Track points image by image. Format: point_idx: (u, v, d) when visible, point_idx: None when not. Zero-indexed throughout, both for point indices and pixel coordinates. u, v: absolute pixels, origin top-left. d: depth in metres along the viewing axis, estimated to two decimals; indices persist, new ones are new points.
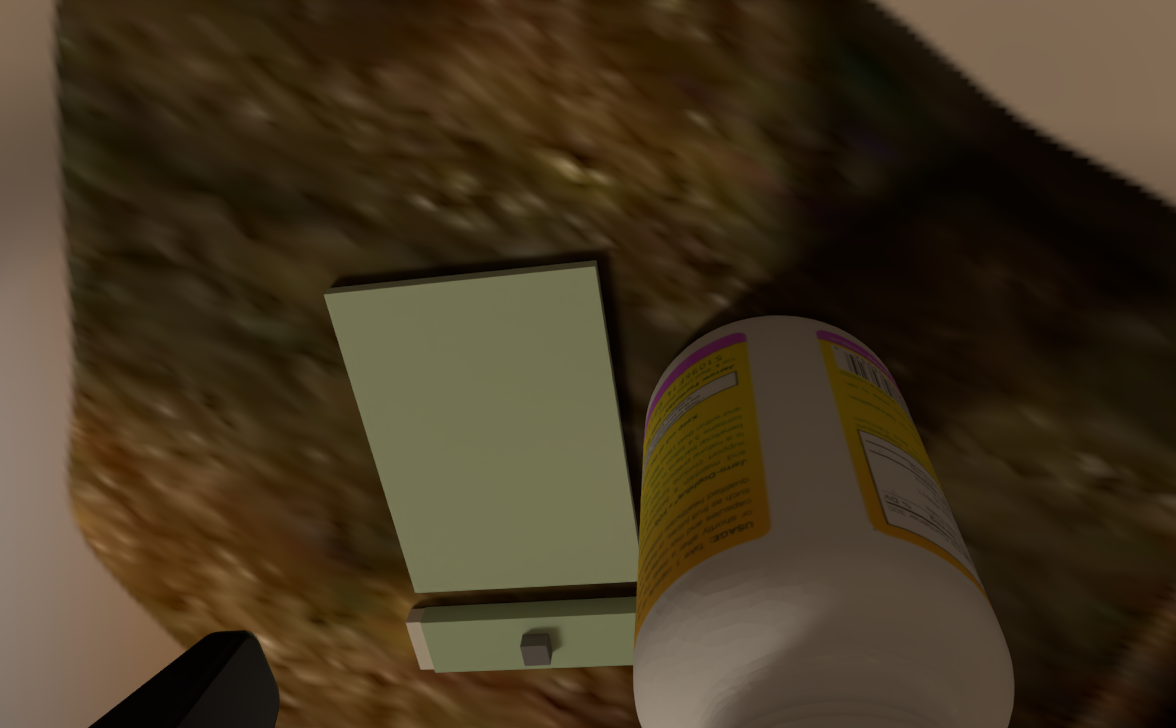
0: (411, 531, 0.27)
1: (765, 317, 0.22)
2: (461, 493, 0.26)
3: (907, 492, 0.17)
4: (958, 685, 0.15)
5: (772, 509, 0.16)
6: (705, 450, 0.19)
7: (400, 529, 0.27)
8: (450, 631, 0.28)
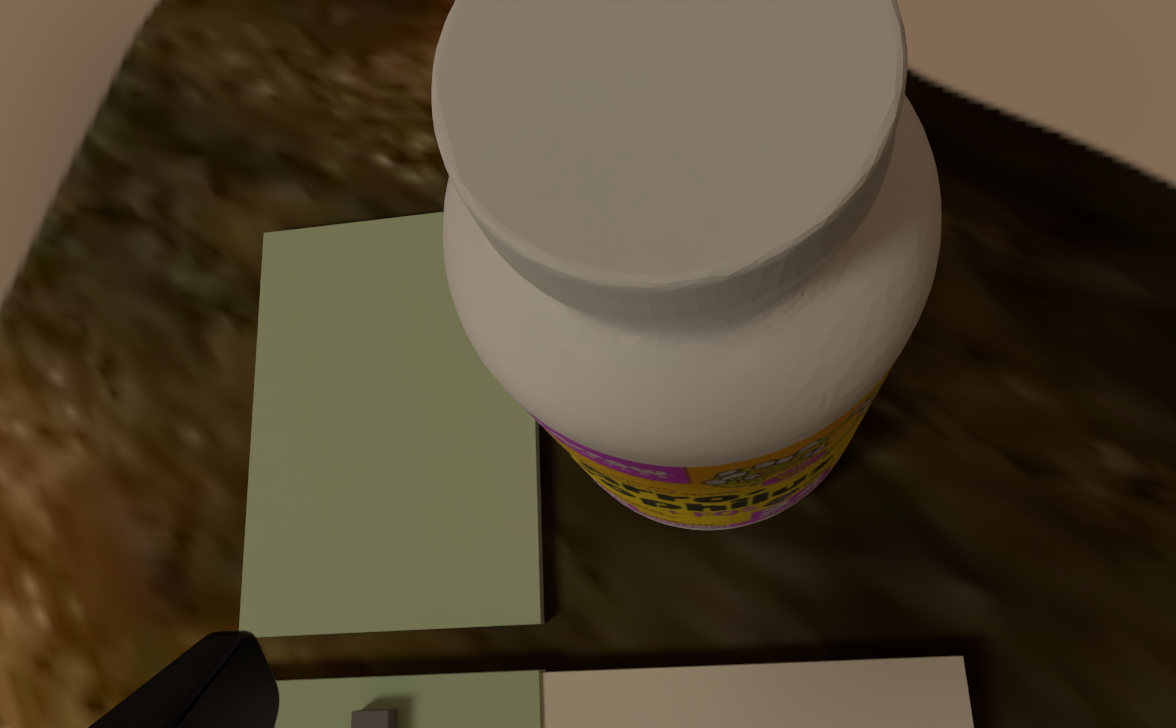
0: (263, 533, 0.21)
1: None
2: (337, 474, 0.22)
3: None
4: None
5: None
6: None
7: (250, 528, 0.22)
8: None
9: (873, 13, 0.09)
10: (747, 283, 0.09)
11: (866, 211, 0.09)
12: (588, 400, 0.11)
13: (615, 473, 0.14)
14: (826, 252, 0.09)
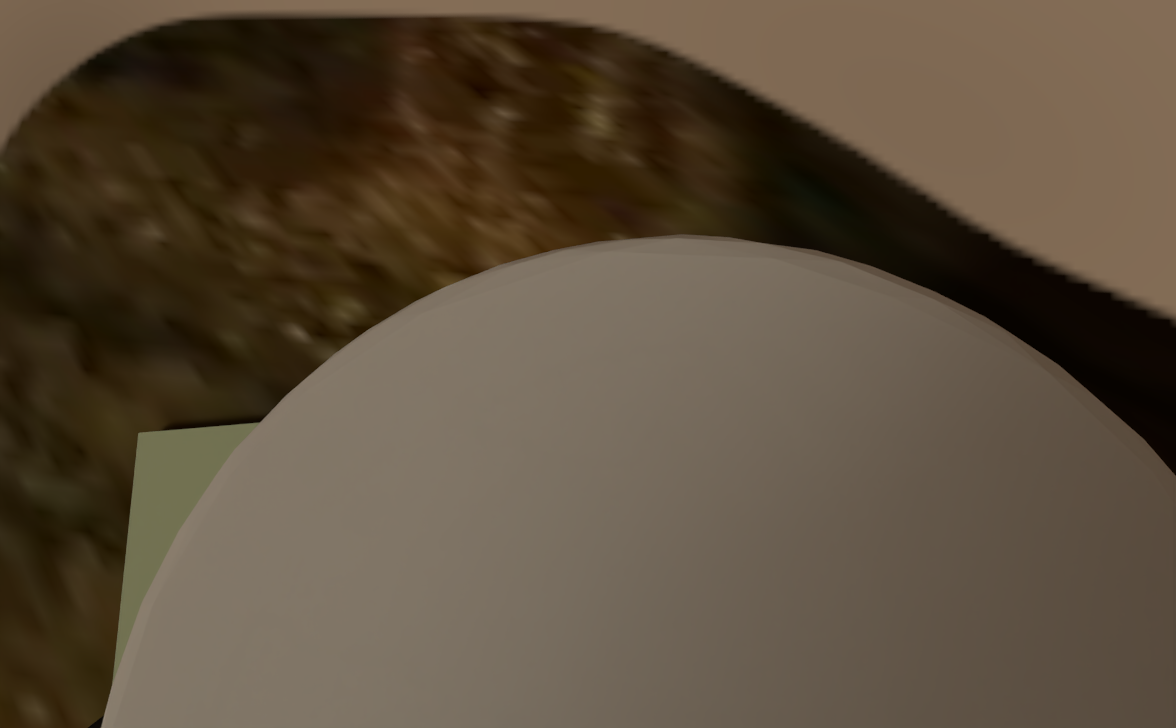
0: None
1: None
2: None
3: None
4: None
5: None
6: None
7: None
8: None
9: None
10: None
11: None
12: None
13: None
14: None
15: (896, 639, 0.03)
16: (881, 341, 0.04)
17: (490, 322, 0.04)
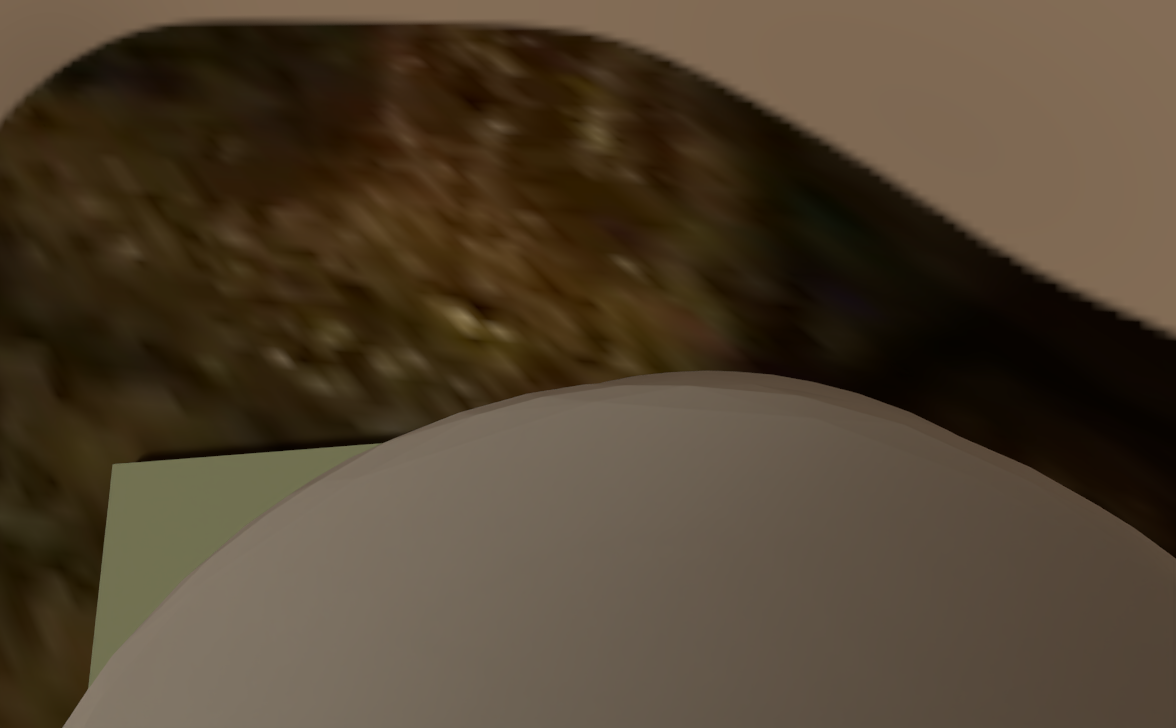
0: None
1: None
2: None
3: None
4: None
5: None
6: None
7: None
8: None
9: None
10: None
11: None
12: None
13: None
14: None
15: None
16: (960, 534, 0.03)
17: (445, 496, 0.03)
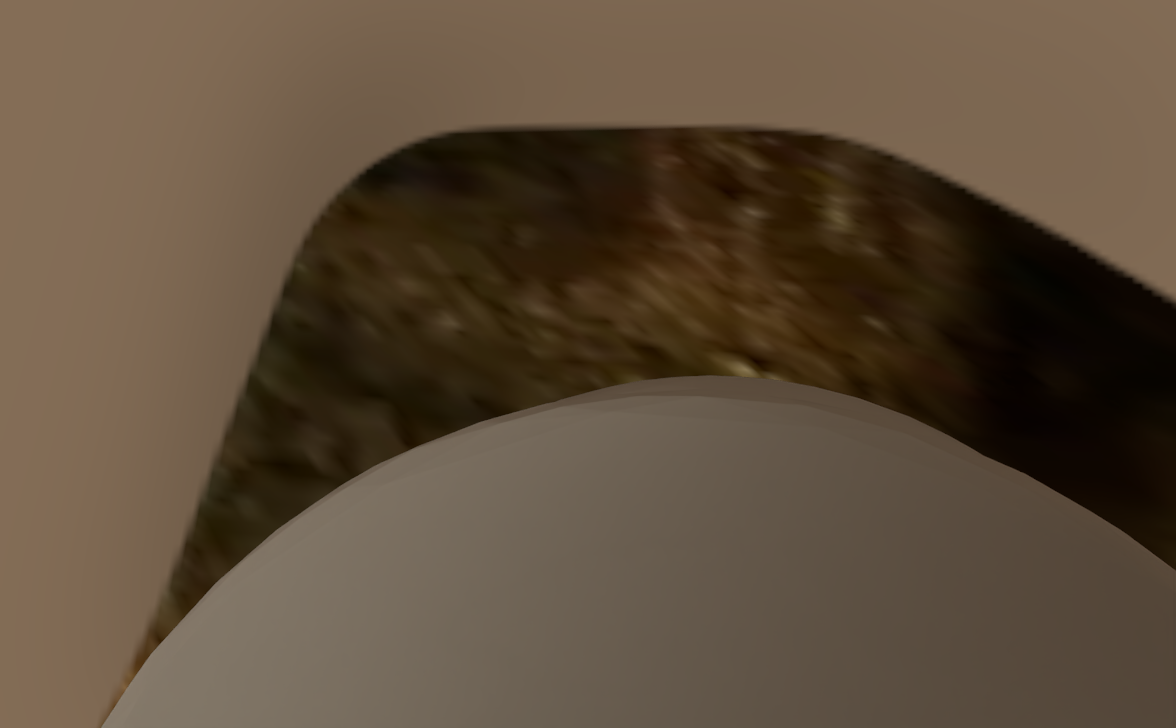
0: None
1: None
2: None
3: None
4: None
5: None
6: None
7: None
8: None
9: None
10: None
11: None
12: None
13: None
14: None
15: None
16: (961, 541, 0.03)
17: (467, 501, 0.03)
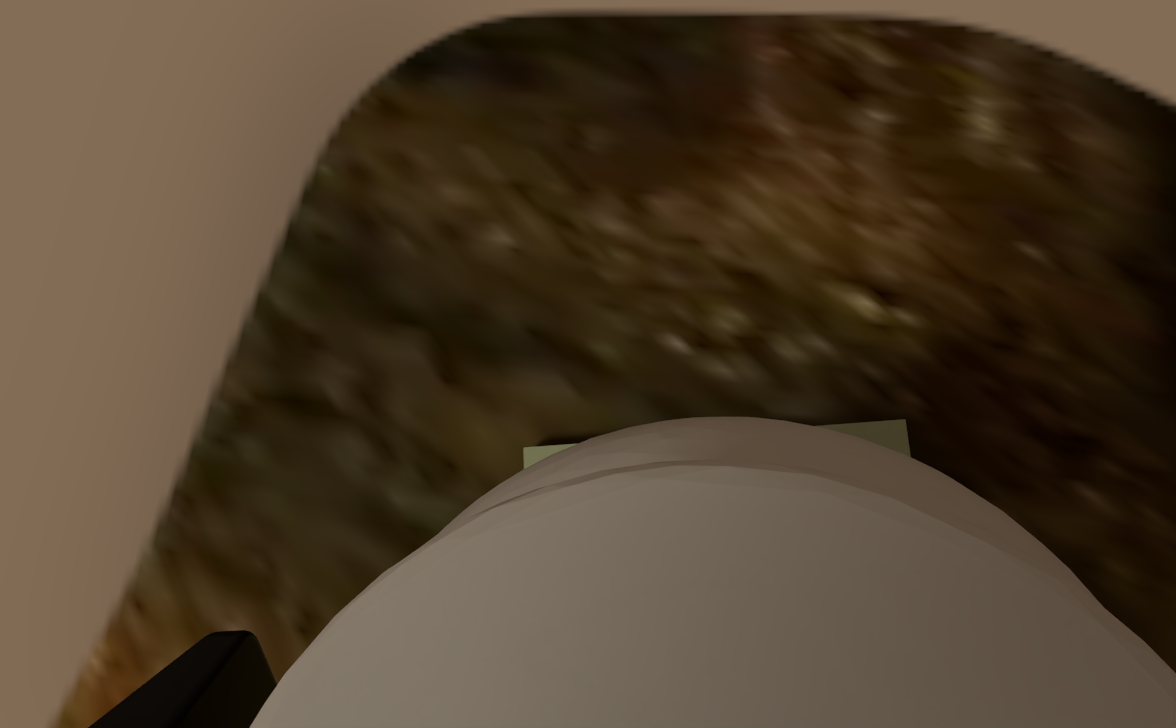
0: None
1: None
2: None
3: None
4: None
5: None
6: None
7: None
8: None
9: None
10: None
11: None
12: None
13: None
14: None
15: None
16: (935, 586, 0.04)
17: (541, 551, 0.04)
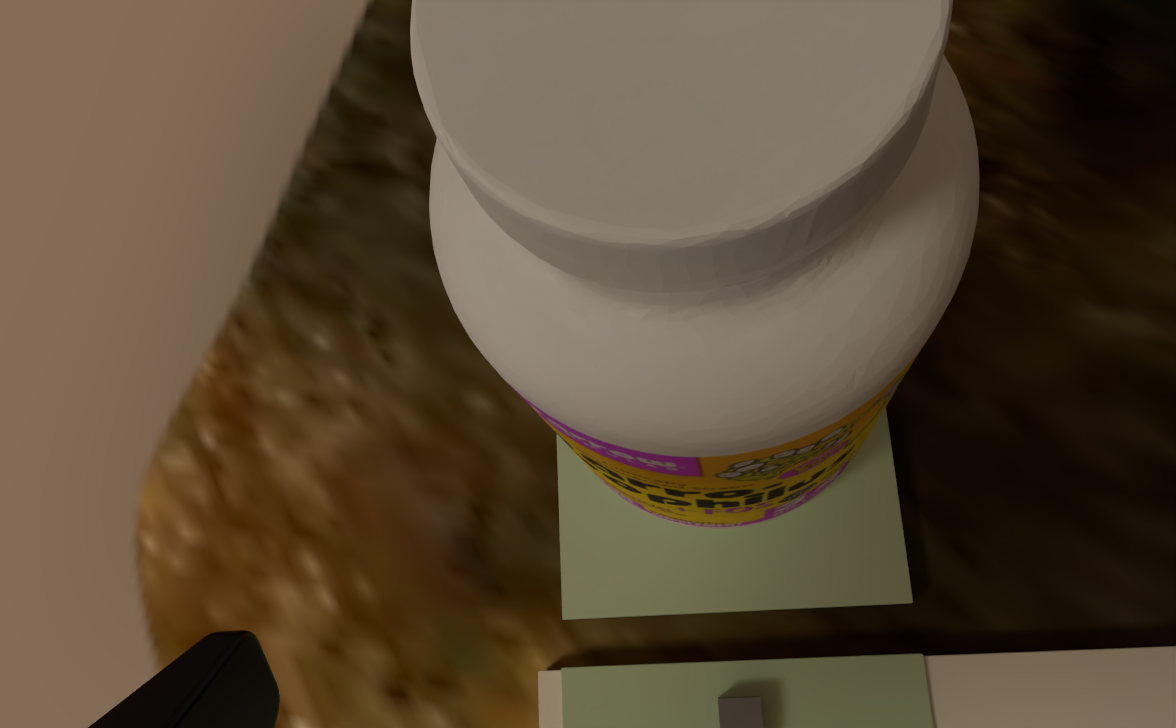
0: (579, 506, 0.20)
1: None
2: None
3: None
4: None
5: None
6: None
7: (565, 501, 0.20)
8: (605, 687, 0.18)
9: None
10: (772, 239, 0.07)
11: (904, 161, 0.08)
12: (588, 382, 0.10)
13: (620, 466, 0.13)
14: (860, 206, 0.08)
15: None
16: None
17: None
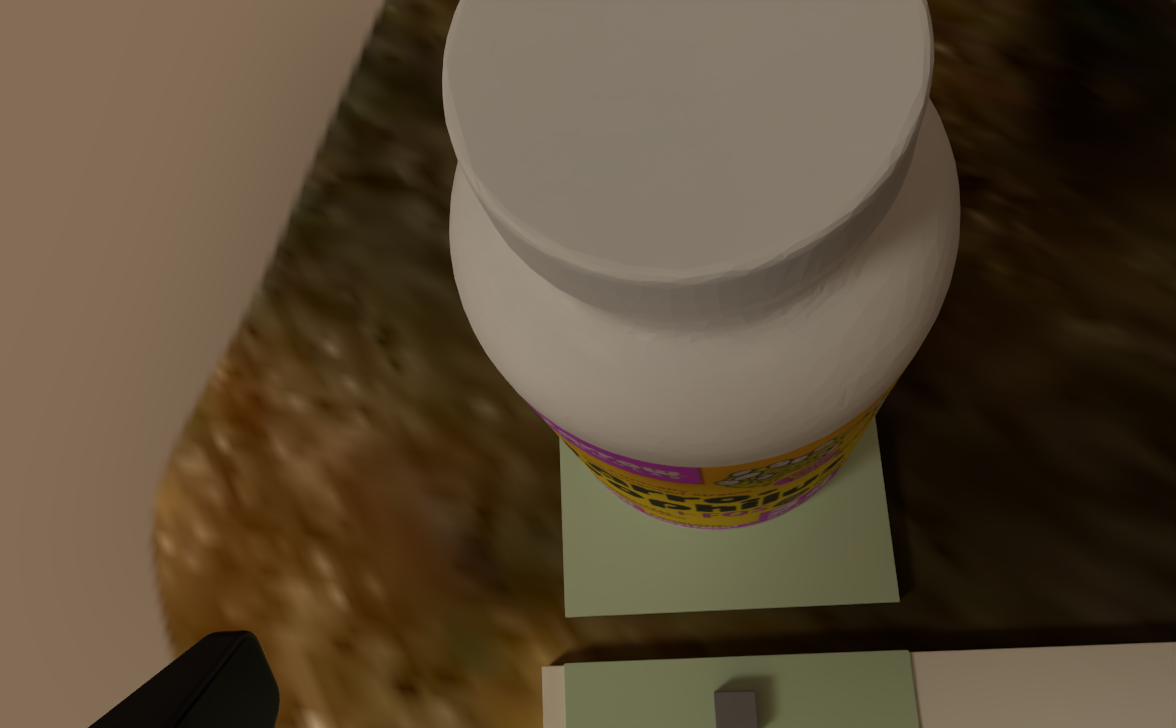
0: (581, 508, 0.21)
1: None
2: None
3: None
4: None
5: None
6: None
7: (567, 503, 0.21)
8: (606, 682, 0.19)
9: None
10: (771, 276, 0.08)
11: (890, 203, 0.09)
12: (600, 400, 0.11)
13: (625, 474, 0.14)
14: (850, 245, 0.09)
15: None
16: None
17: None
